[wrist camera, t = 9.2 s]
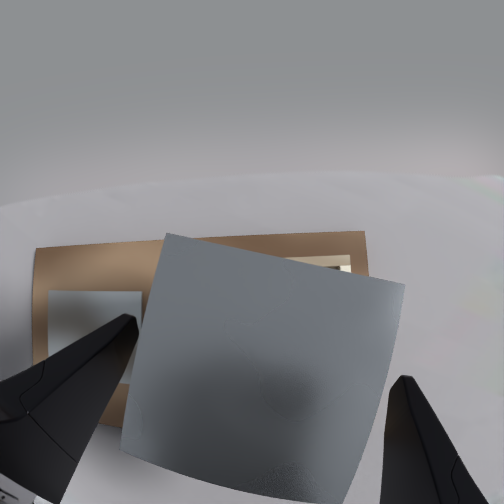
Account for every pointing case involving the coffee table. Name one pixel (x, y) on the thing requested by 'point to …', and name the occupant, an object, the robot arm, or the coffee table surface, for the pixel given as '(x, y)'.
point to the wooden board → (145, 286)
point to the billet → (259, 370)
